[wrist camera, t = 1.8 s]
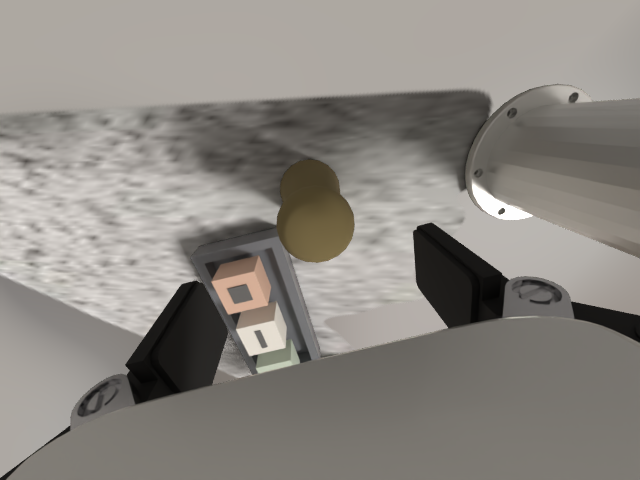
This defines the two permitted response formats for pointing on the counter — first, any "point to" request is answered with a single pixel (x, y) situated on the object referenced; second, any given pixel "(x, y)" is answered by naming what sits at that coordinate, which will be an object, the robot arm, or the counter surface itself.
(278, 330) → the key cream
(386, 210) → the counter surface
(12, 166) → the counter surface
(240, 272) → the peach square block
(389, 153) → the counter surface
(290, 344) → the key sage
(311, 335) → the base
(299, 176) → the olive rounded piece
